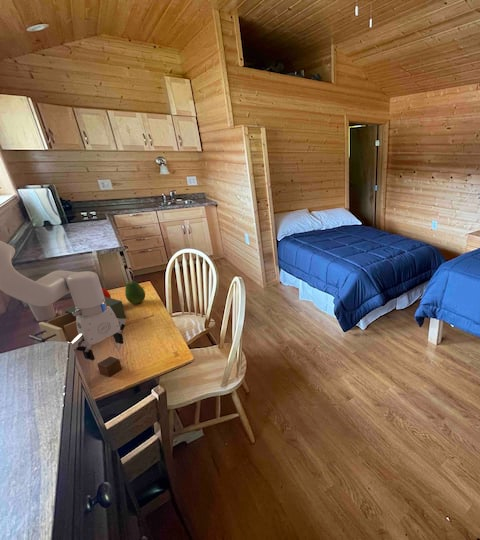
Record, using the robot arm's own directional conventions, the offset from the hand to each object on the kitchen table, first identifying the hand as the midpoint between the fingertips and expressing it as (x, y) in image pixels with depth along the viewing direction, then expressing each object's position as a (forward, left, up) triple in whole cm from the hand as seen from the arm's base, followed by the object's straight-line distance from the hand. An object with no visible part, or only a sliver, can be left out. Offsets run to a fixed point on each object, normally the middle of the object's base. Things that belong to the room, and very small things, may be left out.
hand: (105, 350), depth 105 cm
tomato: (+28, +48, -9) cm, 56 cm away
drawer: (+7, +34, -8) cm, 36 cm away
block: (0, 0, -9) cm, 9 cm away
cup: (+13, +58, -9) cm, 60 cm away
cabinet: (+19, +34, -9) cm, 40 cm away
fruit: (+39, +37, -9) cm, 55 cm away
